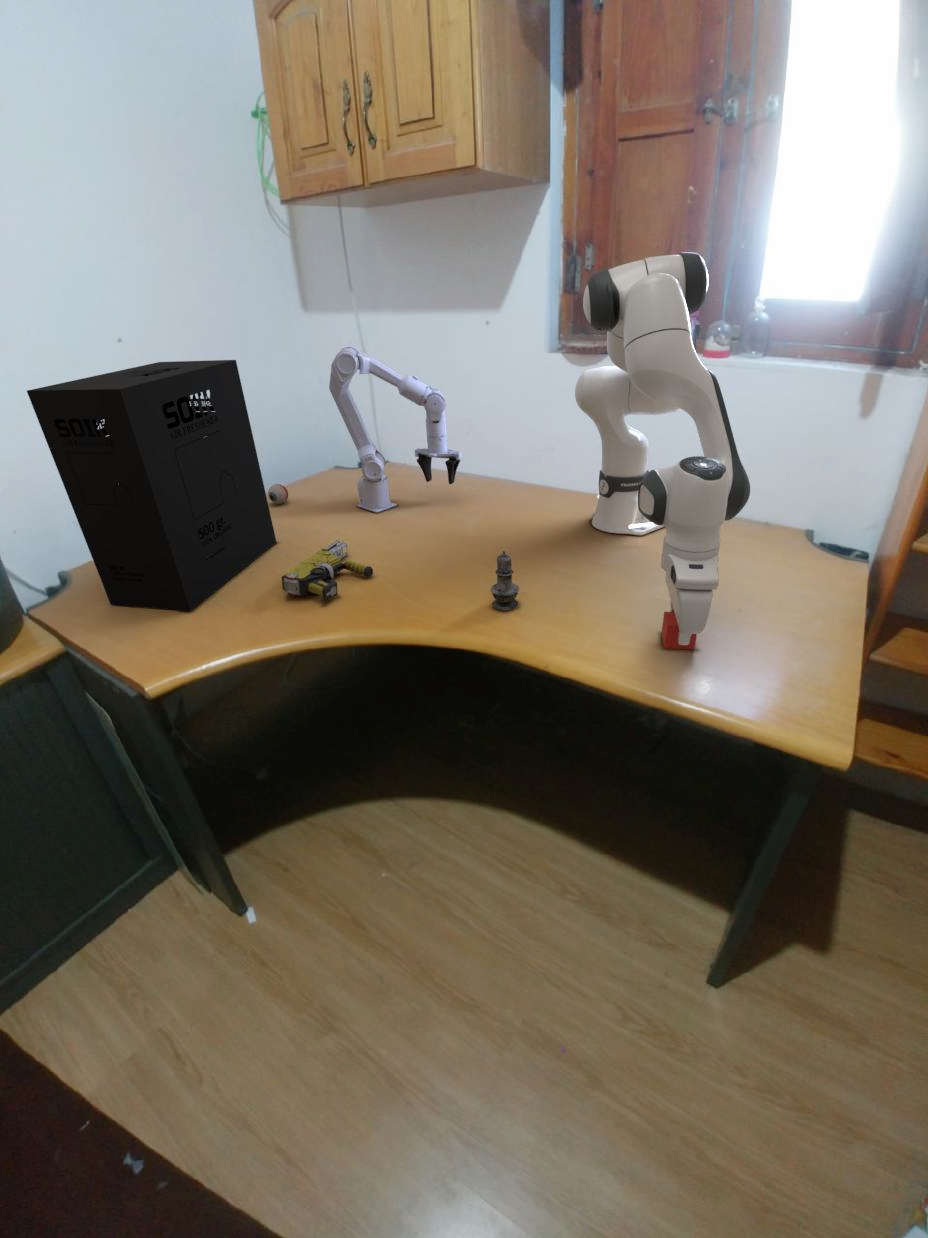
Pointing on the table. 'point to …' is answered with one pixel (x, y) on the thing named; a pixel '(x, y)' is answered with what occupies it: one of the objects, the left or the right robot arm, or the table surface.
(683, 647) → the cube
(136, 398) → the cardboard box
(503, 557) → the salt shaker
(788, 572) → the table surface
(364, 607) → the table surface
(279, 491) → the eyeball
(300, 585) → the toy gun
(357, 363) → the left robot arm
